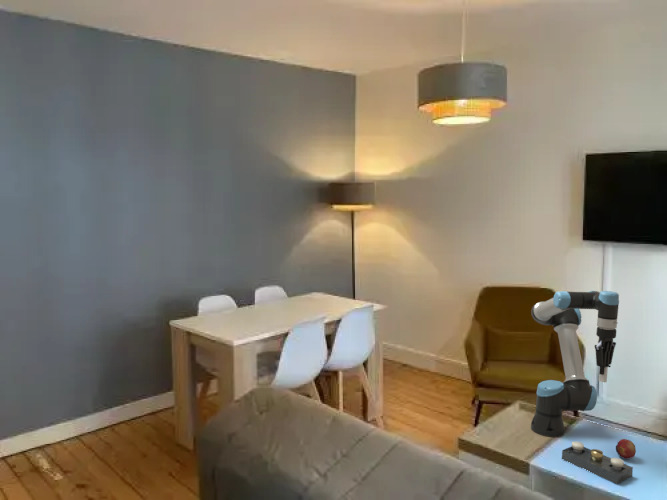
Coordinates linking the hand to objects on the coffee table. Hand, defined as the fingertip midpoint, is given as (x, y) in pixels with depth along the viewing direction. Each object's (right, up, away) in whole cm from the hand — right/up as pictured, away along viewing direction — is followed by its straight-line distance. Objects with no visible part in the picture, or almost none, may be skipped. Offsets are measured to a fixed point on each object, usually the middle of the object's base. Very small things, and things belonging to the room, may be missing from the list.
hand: (602, 381), depth 236 cm
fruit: (+9, -33, -1) cm, 34 cm away
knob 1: (-12, -32, -3) cm, 34 cm away
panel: (-8, -33, -10) cm, 36 cm away
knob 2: (-3, -33, -17) cm, 37 cm away
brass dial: (-7, -29, -10) cm, 32 cm away
